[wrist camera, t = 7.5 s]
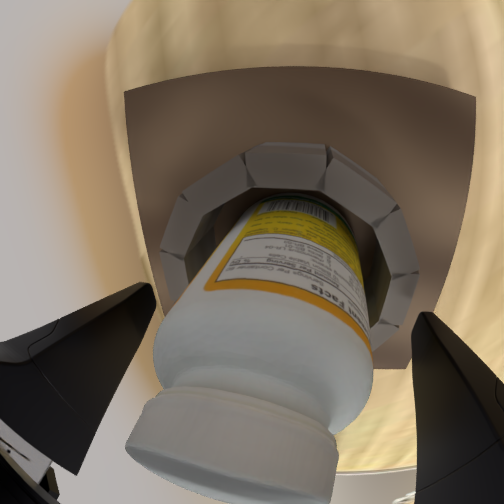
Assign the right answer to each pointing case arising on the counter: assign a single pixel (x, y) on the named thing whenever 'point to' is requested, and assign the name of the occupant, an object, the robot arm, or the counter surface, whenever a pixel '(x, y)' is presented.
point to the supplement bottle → (262, 361)
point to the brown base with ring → (308, 174)
